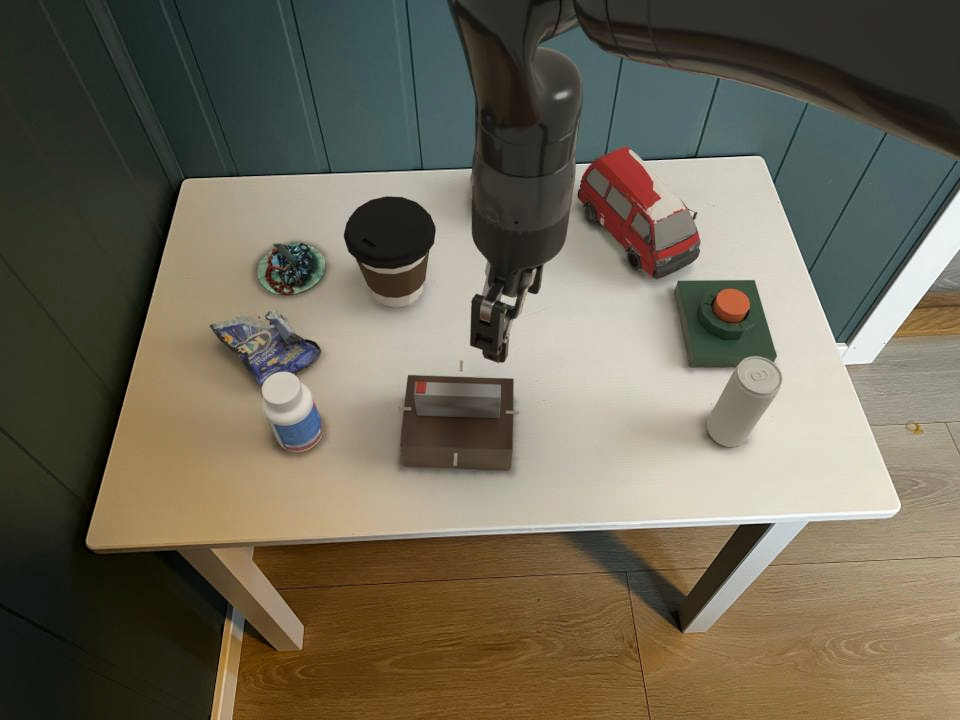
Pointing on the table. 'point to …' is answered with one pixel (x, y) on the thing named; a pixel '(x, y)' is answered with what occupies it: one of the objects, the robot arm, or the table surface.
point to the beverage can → (744, 400)
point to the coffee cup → (391, 247)
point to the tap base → (458, 431)
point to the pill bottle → (291, 412)
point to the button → (731, 305)
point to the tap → (457, 399)
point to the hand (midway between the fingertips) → (512, 321)
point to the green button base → (721, 325)
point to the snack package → (267, 345)
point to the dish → (291, 268)
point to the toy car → (640, 213)
